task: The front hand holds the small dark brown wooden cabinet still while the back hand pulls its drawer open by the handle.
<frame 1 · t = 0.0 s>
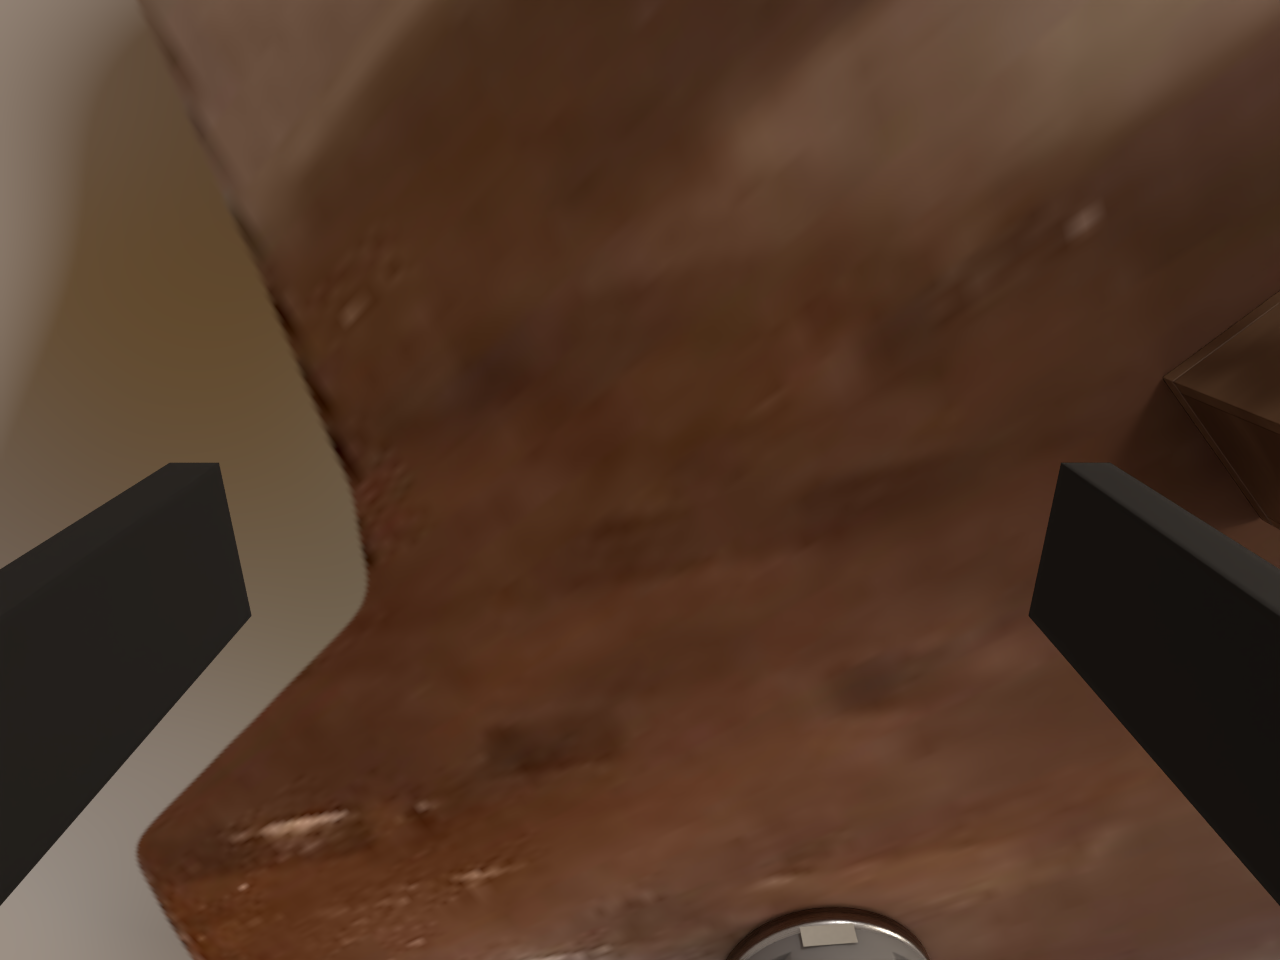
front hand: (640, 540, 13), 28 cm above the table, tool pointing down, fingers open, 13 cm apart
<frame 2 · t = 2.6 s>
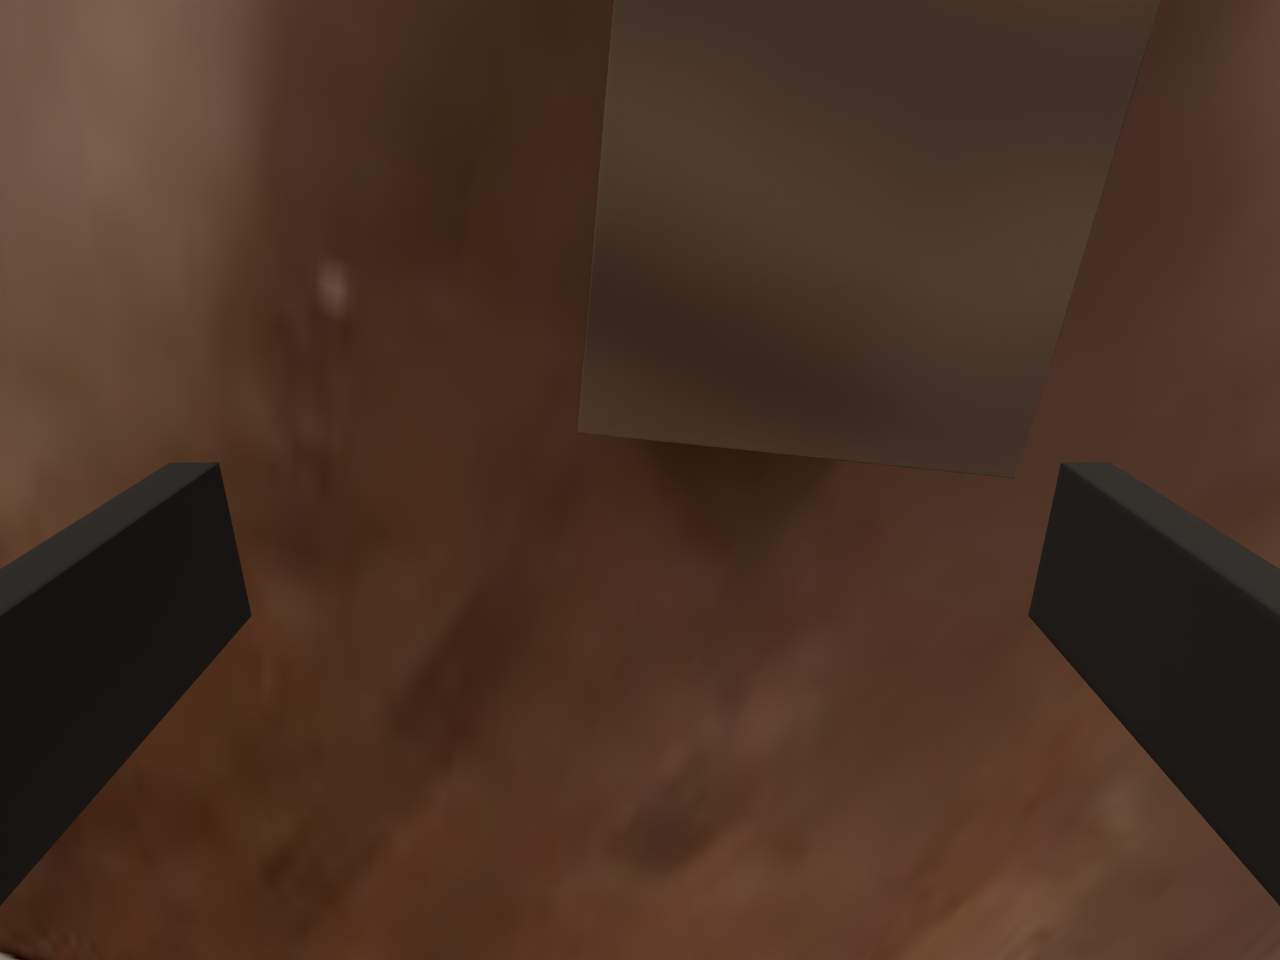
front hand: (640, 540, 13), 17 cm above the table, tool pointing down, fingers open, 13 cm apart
cabinet: (794, 82, 25), on the table
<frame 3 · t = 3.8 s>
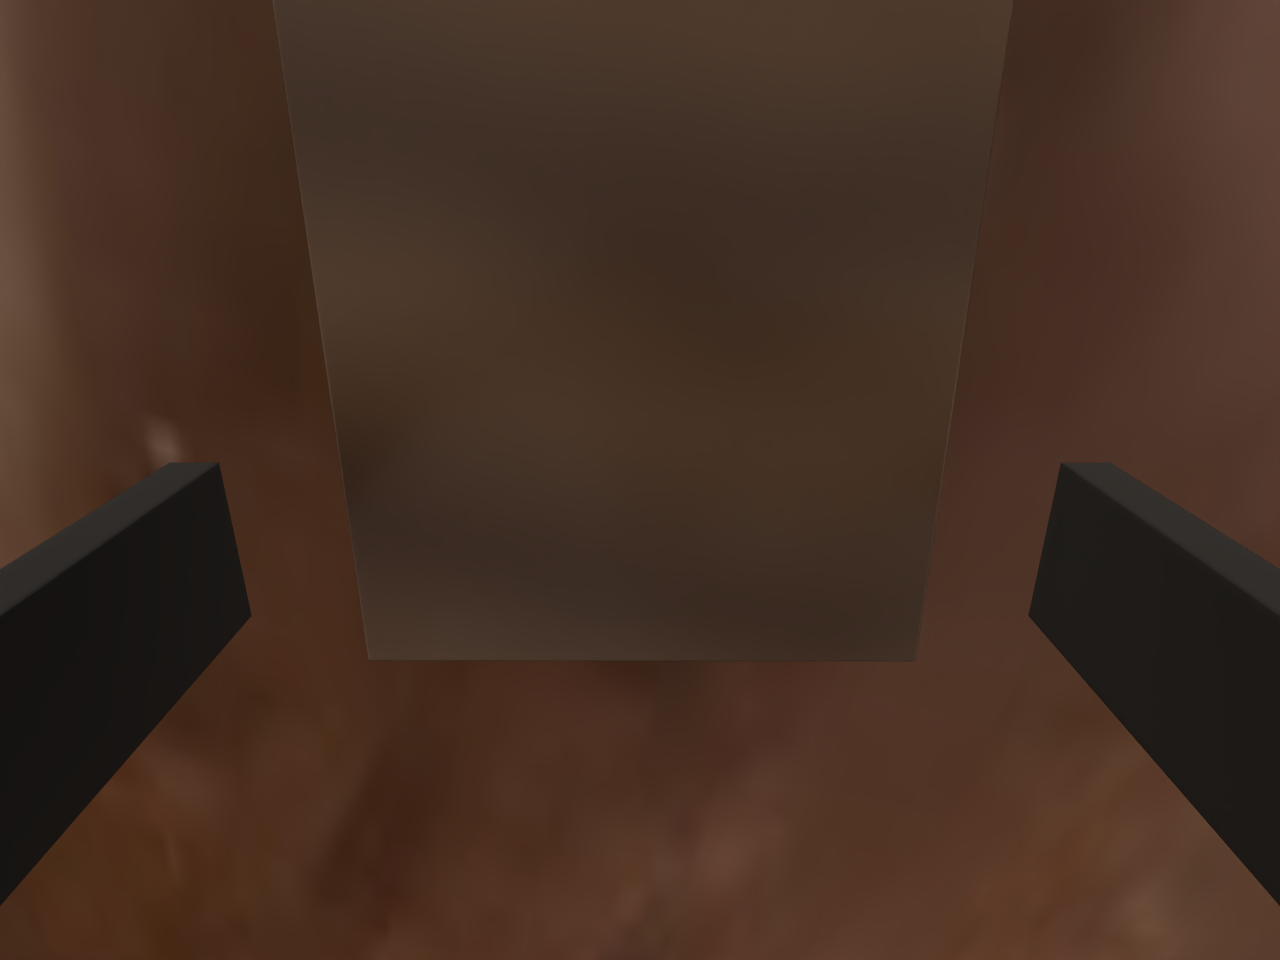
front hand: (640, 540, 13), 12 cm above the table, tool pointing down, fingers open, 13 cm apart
cabinet: (641, 169, 21), on the table
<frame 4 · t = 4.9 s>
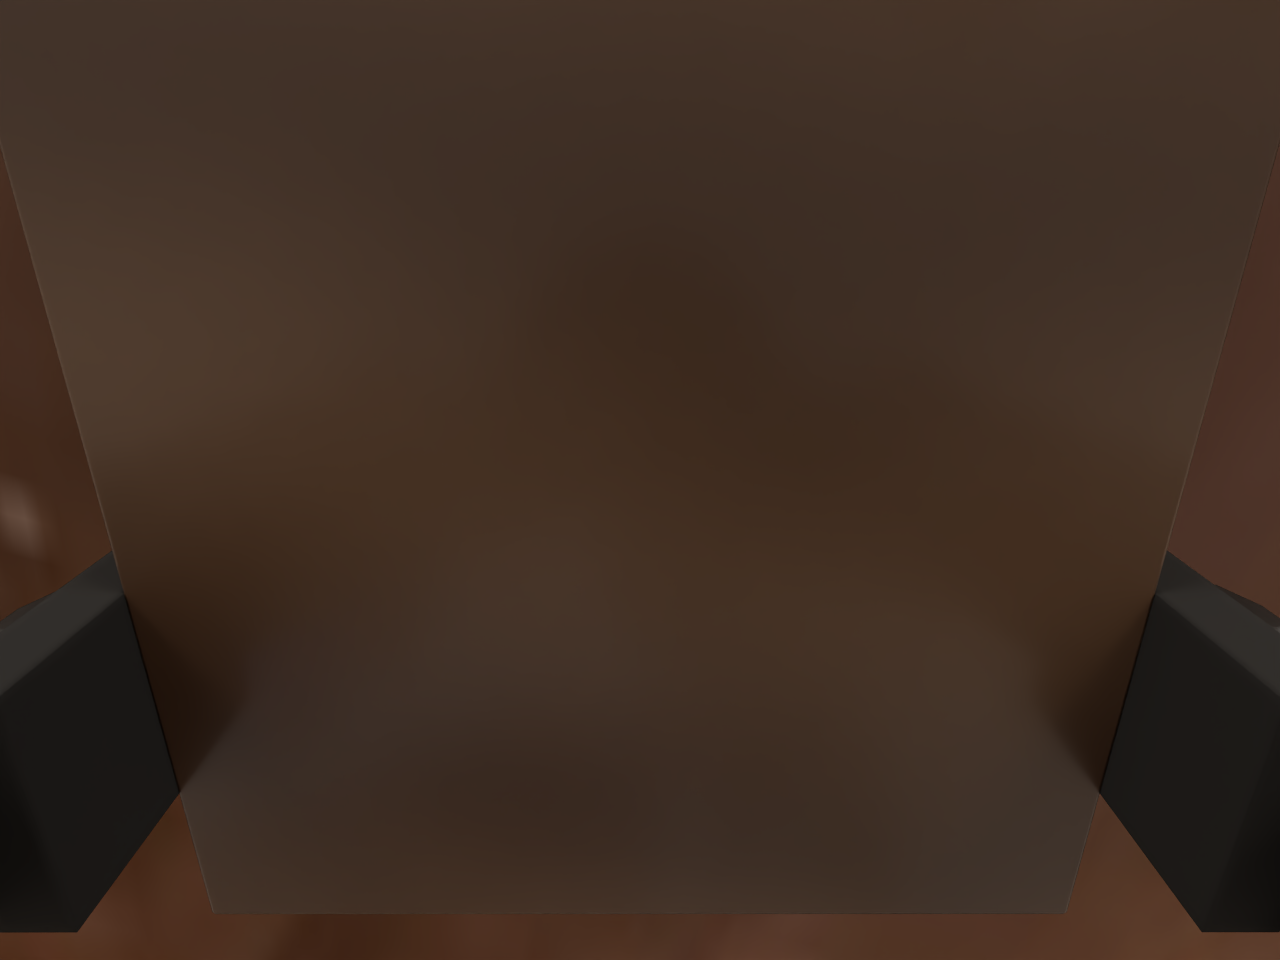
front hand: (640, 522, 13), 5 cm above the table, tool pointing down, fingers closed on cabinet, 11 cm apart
cabinet: (639, 150, 16), on the table, touching front hand
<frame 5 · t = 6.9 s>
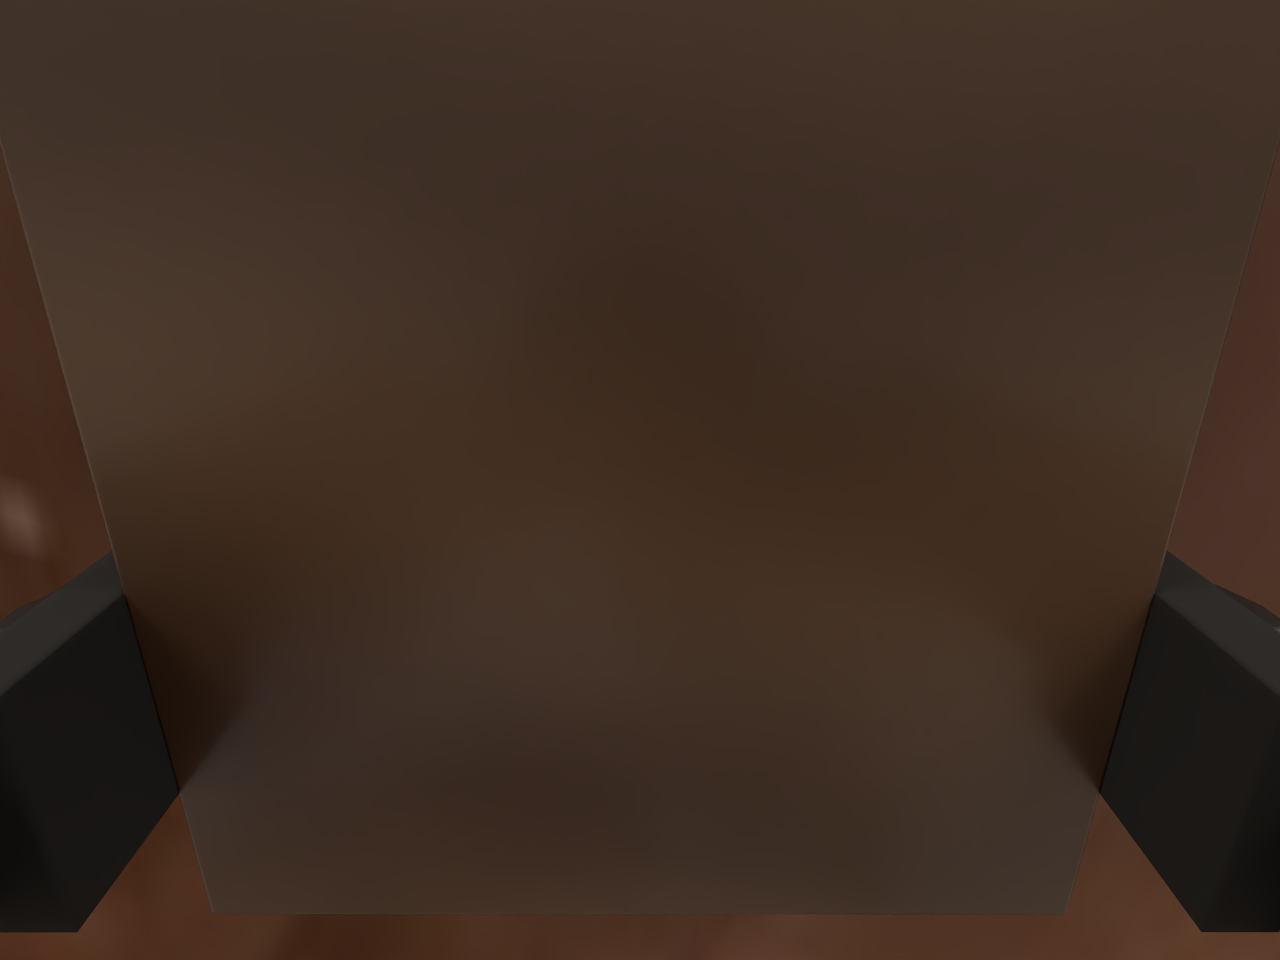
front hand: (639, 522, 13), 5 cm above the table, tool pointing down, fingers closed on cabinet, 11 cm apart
cabinet: (639, 150, 16), on the table, touching front hand
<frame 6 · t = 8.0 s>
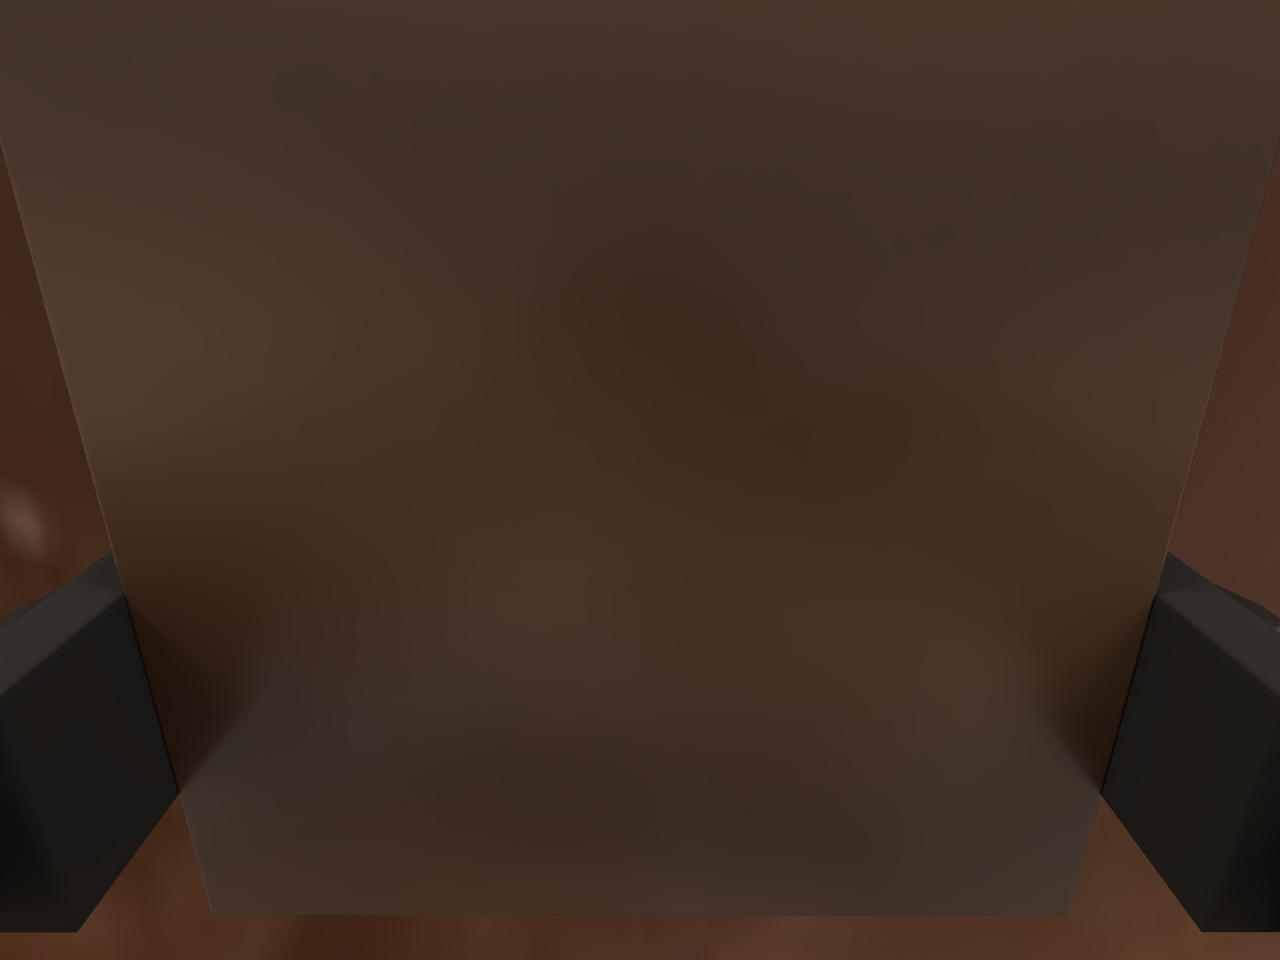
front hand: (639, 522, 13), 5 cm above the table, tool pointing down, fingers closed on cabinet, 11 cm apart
cabinet: (640, 151, 16), on the table, touching front hand
when the front hand's fingers open (5 cm above the table, at t = 9.7 s): cabinet stays where it is, on the table.
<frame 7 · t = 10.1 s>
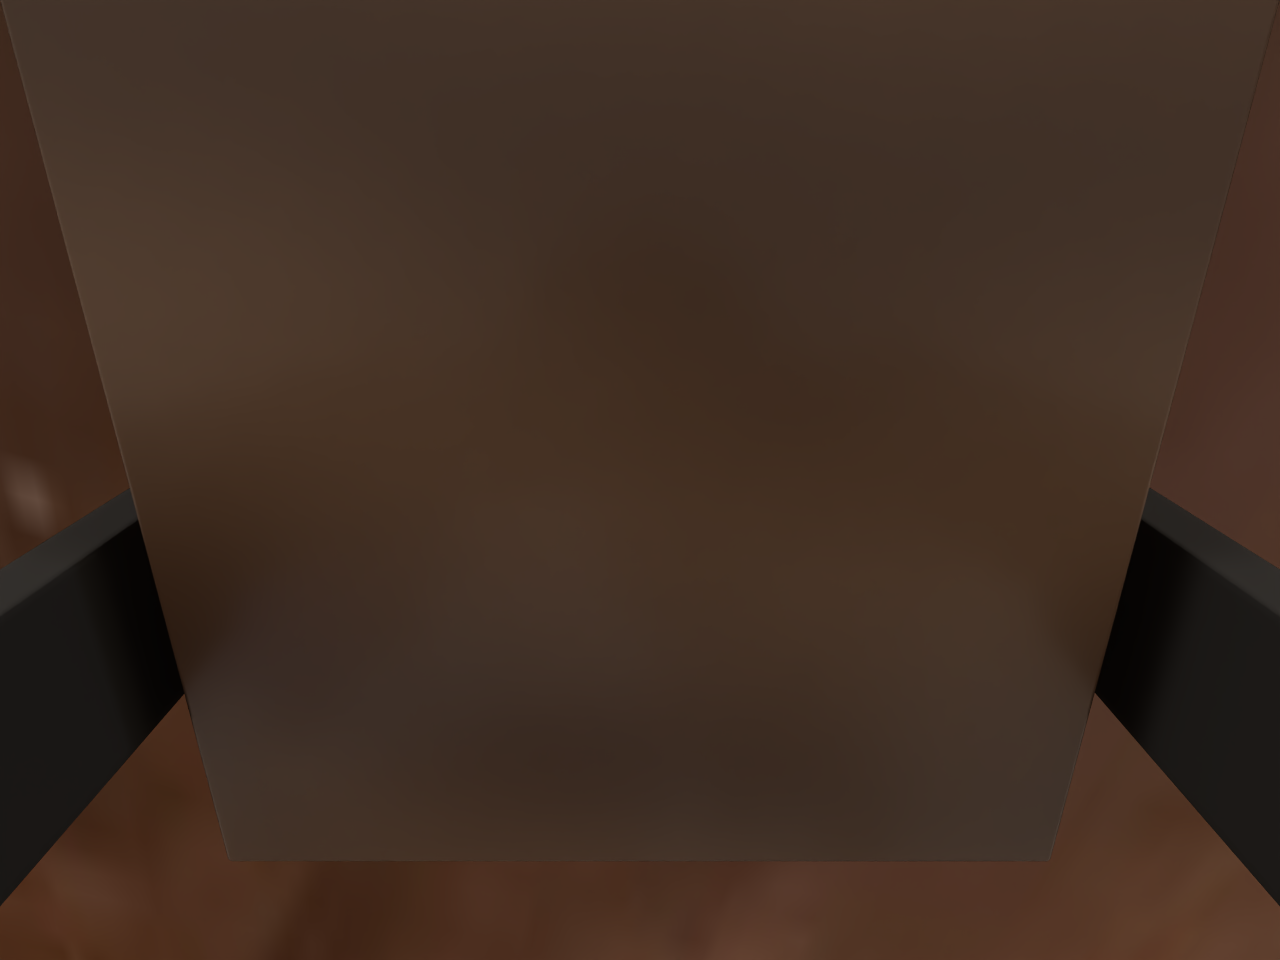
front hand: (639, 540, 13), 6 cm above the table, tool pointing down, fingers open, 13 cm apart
cabinet: (639, 129, 16), on the table
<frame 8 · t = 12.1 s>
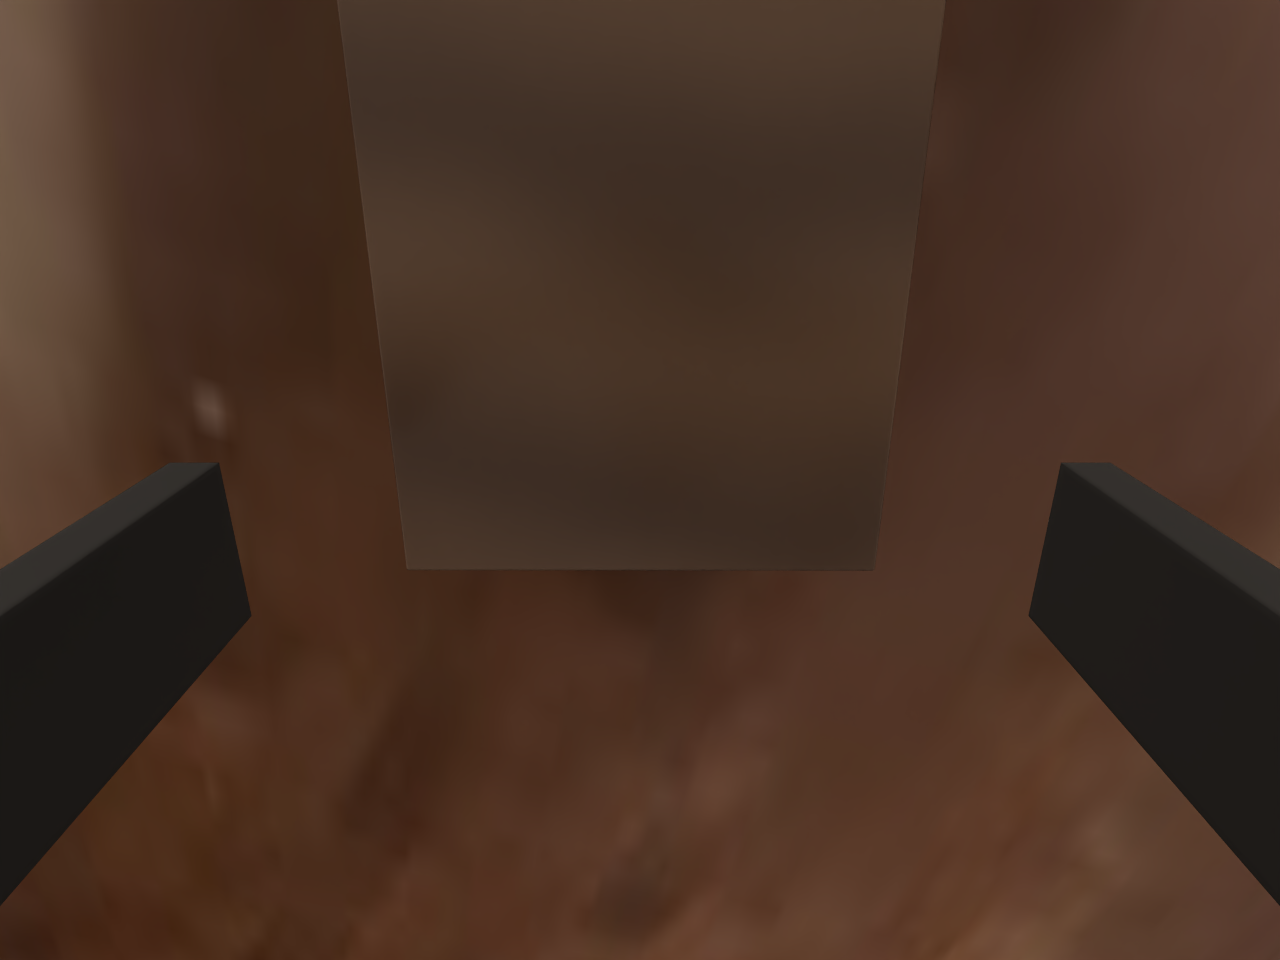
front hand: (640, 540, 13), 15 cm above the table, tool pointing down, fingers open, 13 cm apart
cabinet: (640, 151, 24), on the table
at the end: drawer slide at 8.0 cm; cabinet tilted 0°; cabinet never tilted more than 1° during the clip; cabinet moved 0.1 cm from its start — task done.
